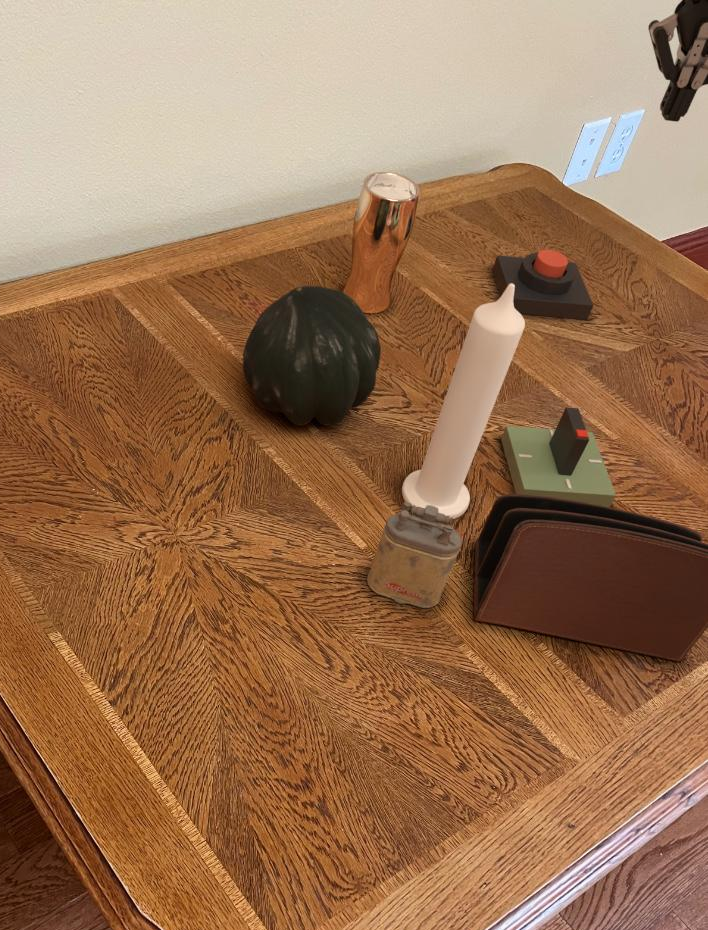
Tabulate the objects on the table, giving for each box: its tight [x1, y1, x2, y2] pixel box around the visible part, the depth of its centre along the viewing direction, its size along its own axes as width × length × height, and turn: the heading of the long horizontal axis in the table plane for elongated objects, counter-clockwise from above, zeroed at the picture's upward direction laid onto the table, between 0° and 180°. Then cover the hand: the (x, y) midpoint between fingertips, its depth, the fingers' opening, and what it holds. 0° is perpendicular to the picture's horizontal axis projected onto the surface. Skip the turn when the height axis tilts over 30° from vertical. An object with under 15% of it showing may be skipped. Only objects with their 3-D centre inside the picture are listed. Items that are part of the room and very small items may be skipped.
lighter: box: [366, 501, 463, 609], centre depth 85 cm, size 7×4×10 cm, turn 73°
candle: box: [401, 283, 526, 520], centre depth 88 cm, size 7×7×25 cm
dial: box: [549, 406, 589, 475], centre depth 99 cm, size 5×1×5 cm, turn 1°
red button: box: [533, 249, 569, 278], centre depth 122 cm, size 4×4×2 cm
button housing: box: [491, 252, 594, 321], centre depth 124 cm, size 11×10×4 cm
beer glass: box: [342, 171, 421, 314], centre depth 114 cm, size 7×7×15 cm
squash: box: [242, 285, 382, 426], centre depth 101 cm, size 14×15×15 cm
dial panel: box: [500, 425, 617, 508], centre depth 102 cm, size 10×10×2 cm
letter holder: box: [473, 493, 708, 663], centre depth 85 cm, size 10×20×14 cm, turn 81°
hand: (669, 118), depth 109 cm, fingers closed
